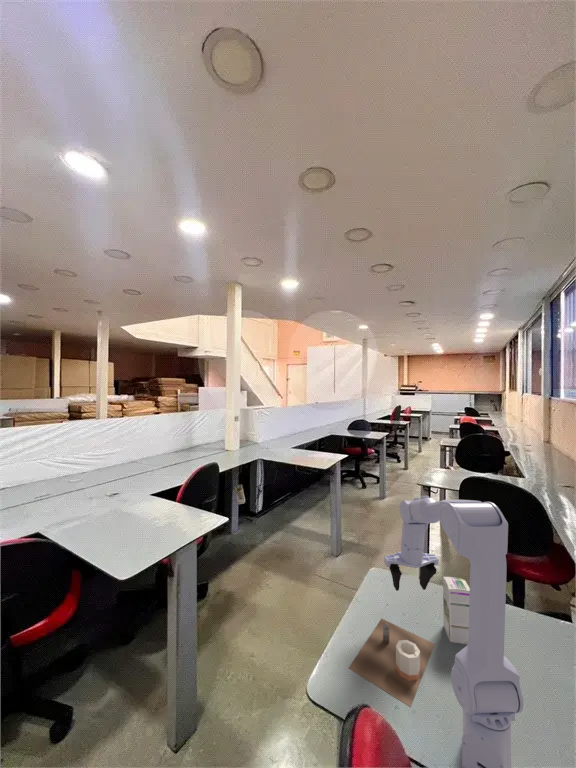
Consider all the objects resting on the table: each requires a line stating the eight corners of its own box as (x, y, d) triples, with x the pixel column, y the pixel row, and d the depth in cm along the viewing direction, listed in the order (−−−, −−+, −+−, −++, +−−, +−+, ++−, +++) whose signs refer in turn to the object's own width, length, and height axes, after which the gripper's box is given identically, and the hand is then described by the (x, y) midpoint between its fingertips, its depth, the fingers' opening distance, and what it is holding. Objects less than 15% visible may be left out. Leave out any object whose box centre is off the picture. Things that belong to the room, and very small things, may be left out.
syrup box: (474, 649, 78) (473, 591, 78) (449, 645, 79) (448, 588, 79) (466, 632, 83) (465, 578, 84) (442, 628, 84) (442, 575, 85)
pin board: (410, 712, 62) (410, 684, 62) (348, 672, 71) (348, 648, 71) (434, 647, 78) (434, 626, 78) (381, 621, 87) (381, 602, 87)
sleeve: (415, 684, 67) (415, 661, 67) (393, 672, 70) (393, 649, 70) (421, 669, 71) (421, 647, 71) (400, 657, 74) (400, 636, 74)
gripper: (430, 533, 88) (427, 575, 90) (381, 534, 87) (378, 577, 89) (444, 549, 81) (440, 595, 83) (391, 550, 80) (388, 597, 82)
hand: (409, 587), depth 86 cm, fingers open, 7 cm apart
